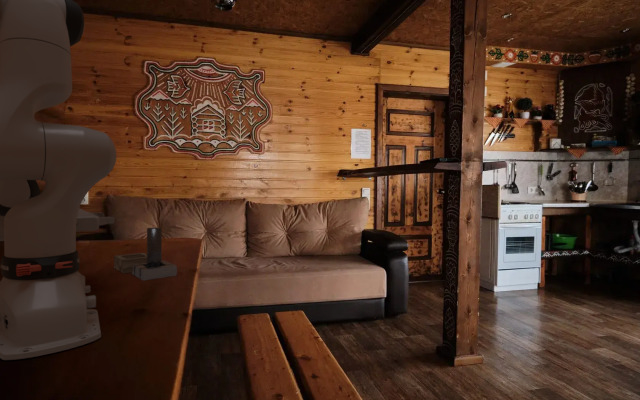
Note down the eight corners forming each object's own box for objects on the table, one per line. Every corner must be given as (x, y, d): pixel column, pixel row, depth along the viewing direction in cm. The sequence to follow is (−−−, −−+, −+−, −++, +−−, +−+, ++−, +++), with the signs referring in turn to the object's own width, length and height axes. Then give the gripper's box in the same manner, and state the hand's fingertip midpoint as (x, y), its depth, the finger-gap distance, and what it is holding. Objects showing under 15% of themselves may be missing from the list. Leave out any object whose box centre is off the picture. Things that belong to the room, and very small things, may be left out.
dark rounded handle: (163, 275, 115) (163, 228, 114) (149, 277, 112) (149, 229, 112) (158, 272, 118) (158, 227, 117) (144, 274, 115) (145, 228, 115)
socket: (176, 275, 115) (176, 265, 115) (143, 280, 108) (143, 270, 108) (164, 269, 122) (164, 260, 122) (131, 274, 115) (131, 264, 115)
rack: (153, 269, 122) (153, 256, 122) (122, 273, 116) (122, 260, 116) (143, 264, 129) (143, 252, 129) (114, 268, 123) (113, 255, 122)
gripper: (55, 212, 89) (120, 210, 99) (41, 204, 104) (98, 203, 113) (56, 239, 90) (120, 234, 99) (41, 227, 104) (98, 224, 114)
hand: (108, 217), depth 106 cm, fingers open, 8 cm apart
